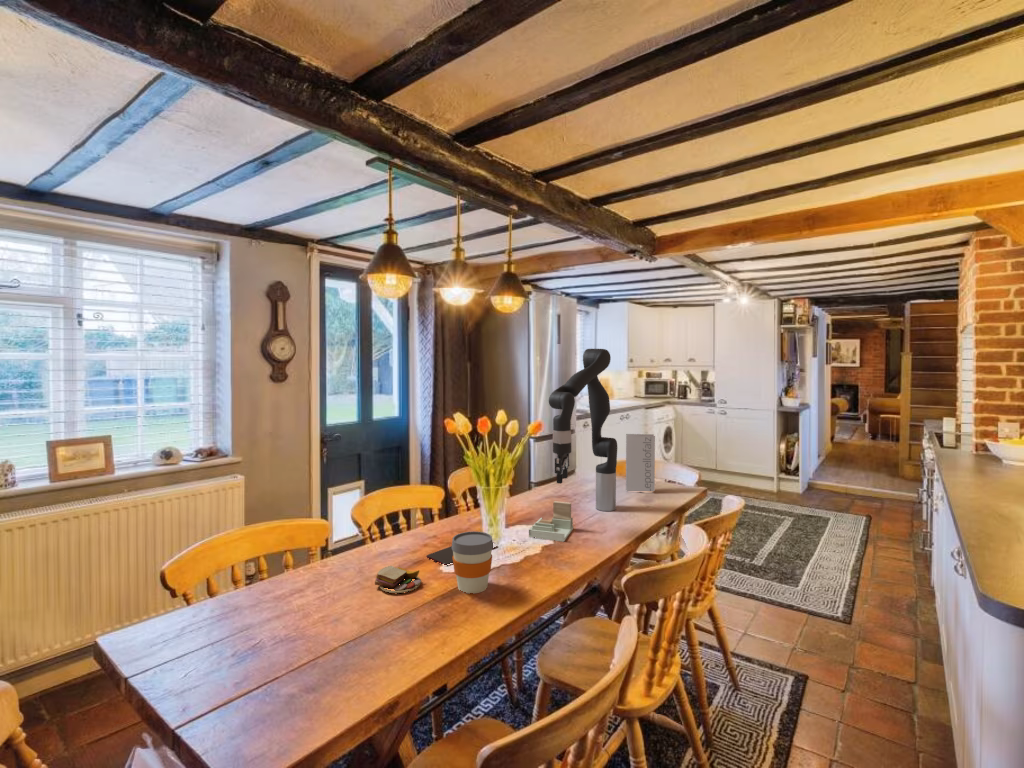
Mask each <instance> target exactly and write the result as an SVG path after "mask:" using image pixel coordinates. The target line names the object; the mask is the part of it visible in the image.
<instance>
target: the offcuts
mask: <svg viewBox="0 0 1024 768" xmlns="http://www.w3.org/2000/svg"><path fill="white" fill-rule="evenodd" d="M538 523H546V524H552V520H549V519H542V520H540V521H539V522H538Z"/></svg>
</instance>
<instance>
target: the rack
mask: <svg viewBox="0 0 1024 768" xmlns="http://www.w3.org/2000/svg"><path fill="white" fill-rule="evenodd" d="M540 520H543V517H540V518H539V519H538V520H537V521H536V522H534V524H533V525H532V526H531V527H530V528H529V529H528V538H529V537H536V538H535V539H537V538H543V539H542V540H546V539H550V540H549V541H554V540H555V542H556V541H557V542H561V543H562V542H565V541H566V539H568V537H569V536H570V534H571V532H572V531H573V529H574V524H573V523H574V519H573V517H571V520H562V519H553V517H552V518H551V521H552V524H546V523H538V522H539V521H540Z"/></svg>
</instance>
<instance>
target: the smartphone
mask: <svg viewBox="0 0 1024 768" xmlns="http://www.w3.org/2000/svg"><path fill="white" fill-rule="evenodd" d="M425 557H427V558H426V559H428V558H429V559H428V560H430V559H432V560H434V561H435V563H437V562H439V563H441V564H444V565H447V564H450V563H453V550H452V545H451V546H448V547H445V548H443V549H439V550H437V551H434V552H432V553H429V554H426V556H425ZM432 560H431V561H432ZM439 563H438V564H439Z"/></svg>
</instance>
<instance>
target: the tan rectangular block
mask: <svg viewBox="0 0 1024 768" xmlns="http://www.w3.org/2000/svg"><path fill="white" fill-rule="evenodd" d="M552 503H553V506H552V507H553V510H552V512H553V515H552V518H553V519H562V520H571V518H572V502H568V501H567V502H566V501H557V500H554V501H553V502H552Z"/></svg>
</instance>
